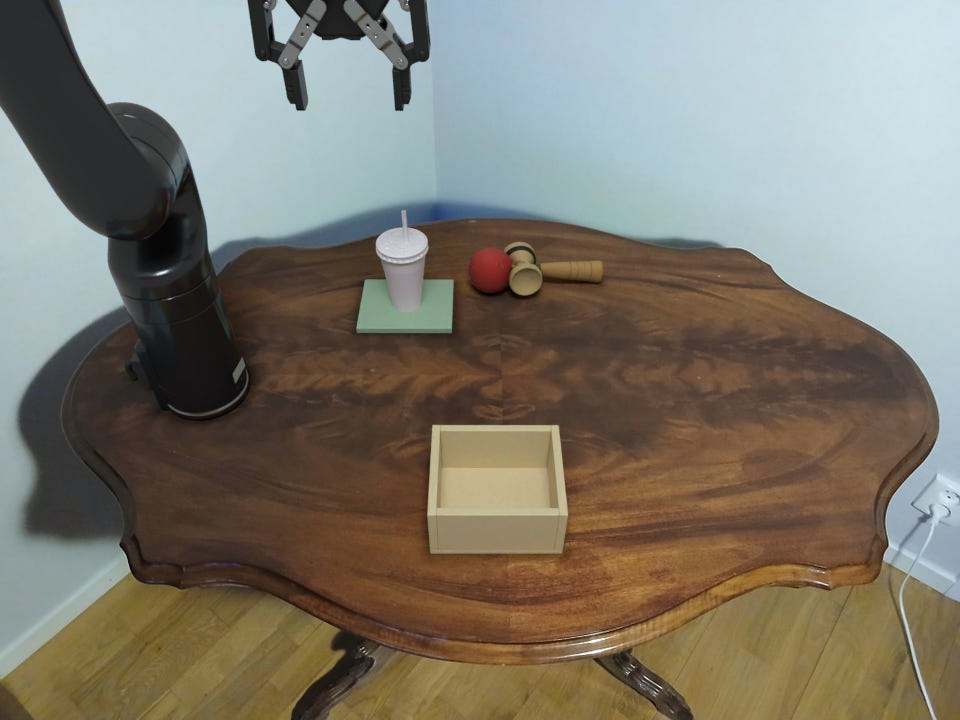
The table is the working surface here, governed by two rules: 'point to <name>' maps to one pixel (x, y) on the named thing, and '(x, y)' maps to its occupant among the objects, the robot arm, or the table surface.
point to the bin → (496, 490)
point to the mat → (386, 319)
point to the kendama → (524, 269)
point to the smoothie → (403, 264)
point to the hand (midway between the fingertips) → (351, 107)
